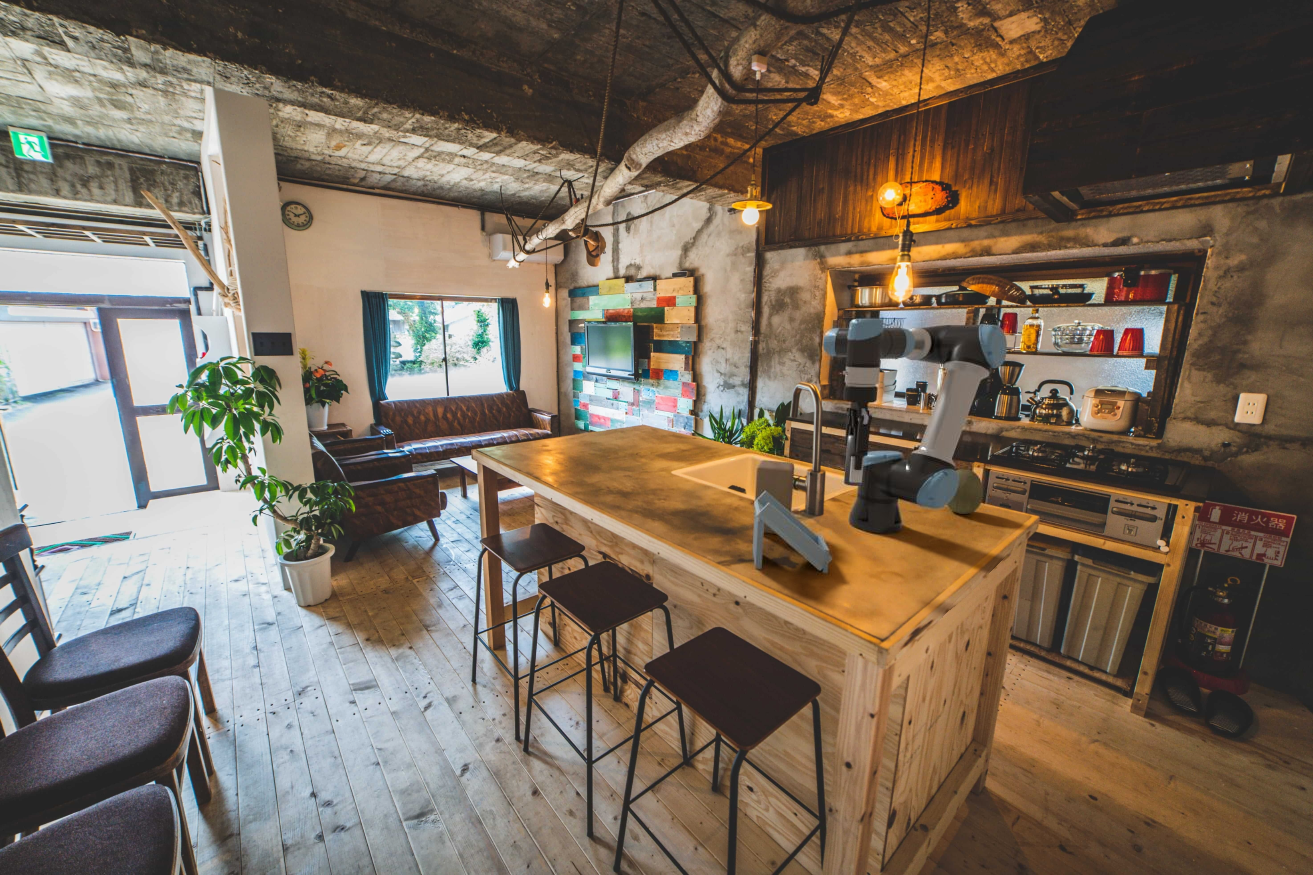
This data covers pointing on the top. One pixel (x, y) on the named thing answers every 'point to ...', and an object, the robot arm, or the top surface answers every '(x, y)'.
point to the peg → (849, 462)
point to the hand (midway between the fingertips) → (853, 479)
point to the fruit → (967, 493)
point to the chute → (787, 533)
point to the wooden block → (775, 483)
